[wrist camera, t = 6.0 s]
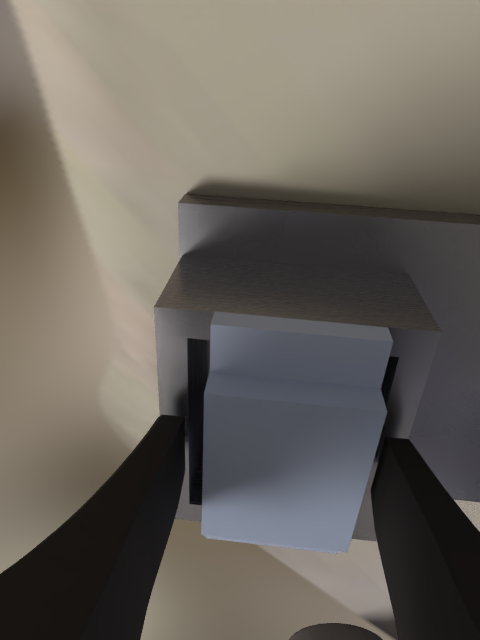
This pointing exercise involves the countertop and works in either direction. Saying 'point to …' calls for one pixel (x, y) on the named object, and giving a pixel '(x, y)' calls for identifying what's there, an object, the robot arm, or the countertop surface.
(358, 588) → the countertop surface
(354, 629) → the bottle
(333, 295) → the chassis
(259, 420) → the block
